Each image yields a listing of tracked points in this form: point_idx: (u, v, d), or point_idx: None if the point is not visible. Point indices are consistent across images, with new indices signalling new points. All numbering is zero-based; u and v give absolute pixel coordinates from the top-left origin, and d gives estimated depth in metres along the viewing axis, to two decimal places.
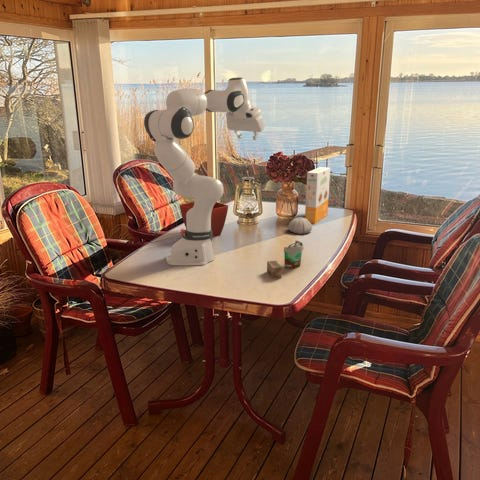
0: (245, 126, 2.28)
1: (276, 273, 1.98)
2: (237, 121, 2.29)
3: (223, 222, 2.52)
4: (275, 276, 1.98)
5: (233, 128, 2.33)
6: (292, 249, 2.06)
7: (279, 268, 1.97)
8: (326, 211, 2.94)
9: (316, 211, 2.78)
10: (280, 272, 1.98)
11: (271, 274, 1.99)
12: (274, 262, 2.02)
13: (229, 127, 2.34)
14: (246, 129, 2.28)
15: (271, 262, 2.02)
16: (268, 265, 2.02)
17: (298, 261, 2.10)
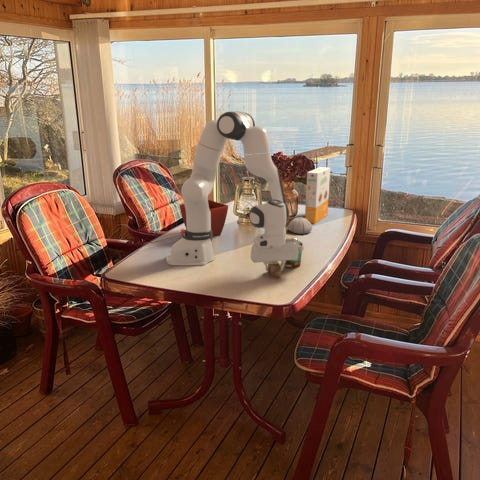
0: None
1: (275, 273, 1.97)
2: None
3: (223, 222, 2.52)
4: (274, 276, 1.98)
5: None
6: None
7: (278, 268, 1.97)
8: (326, 211, 2.94)
9: (316, 211, 2.78)
10: (279, 272, 1.98)
11: (270, 274, 1.99)
12: (275, 262, 2.02)
13: None
14: None
15: (272, 262, 2.03)
16: (268, 264, 2.02)
17: (298, 261, 2.10)
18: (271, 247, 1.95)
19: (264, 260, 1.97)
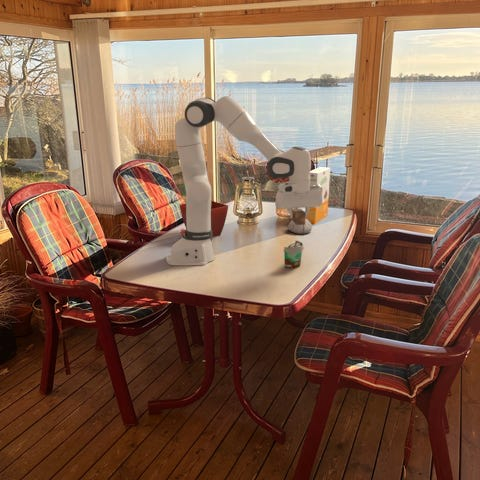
0: None
1: (300, 219, 2.01)
2: None
3: (223, 222, 2.52)
4: (299, 222, 2.01)
5: None
6: (292, 249, 2.06)
7: (303, 214, 2.00)
8: (326, 211, 2.94)
9: (316, 211, 2.78)
10: (304, 218, 2.01)
11: (295, 220, 2.02)
12: (299, 210, 2.05)
13: None
14: None
15: (296, 209, 2.06)
16: (293, 212, 2.06)
17: (298, 261, 2.10)
18: (296, 193, 1.99)
19: (289, 206, 2.00)
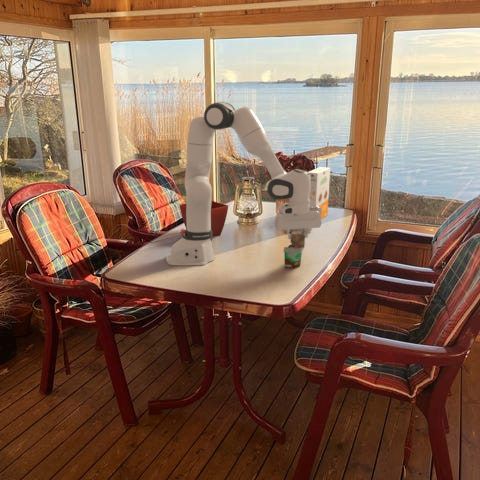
0: None
1: (299, 242, 2.05)
2: None
3: (223, 222, 2.52)
4: (298, 245, 2.05)
5: None
6: (292, 249, 2.06)
7: (302, 237, 2.04)
8: (326, 211, 2.94)
9: None
10: (303, 241, 2.05)
11: (294, 243, 2.06)
12: (298, 232, 2.09)
13: None
14: None
15: (295, 232, 2.10)
16: (292, 235, 2.09)
17: (298, 261, 2.10)
18: (295, 215, 2.02)
19: (288, 228, 2.04)
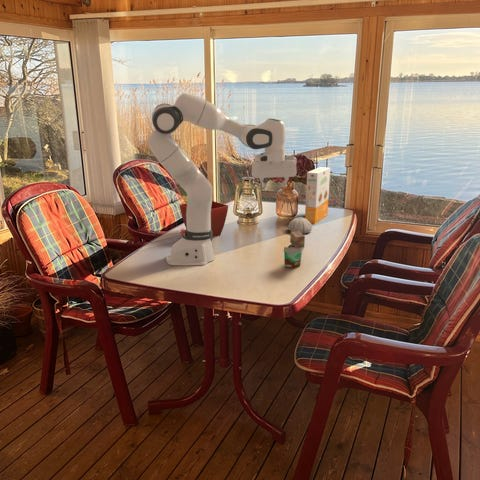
0: None
1: (299, 242, 2.05)
2: None
3: (223, 222, 2.52)
4: (298, 245, 2.05)
5: None
6: (292, 249, 2.06)
7: (302, 237, 2.04)
8: (326, 211, 2.94)
9: (316, 211, 2.78)
10: (303, 241, 2.05)
11: (294, 243, 2.06)
12: (297, 232, 2.09)
13: None
14: None
15: (294, 232, 2.10)
16: (291, 235, 2.10)
17: (298, 261, 2.10)
18: (271, 163, 2.09)
19: (264, 176, 2.10)
